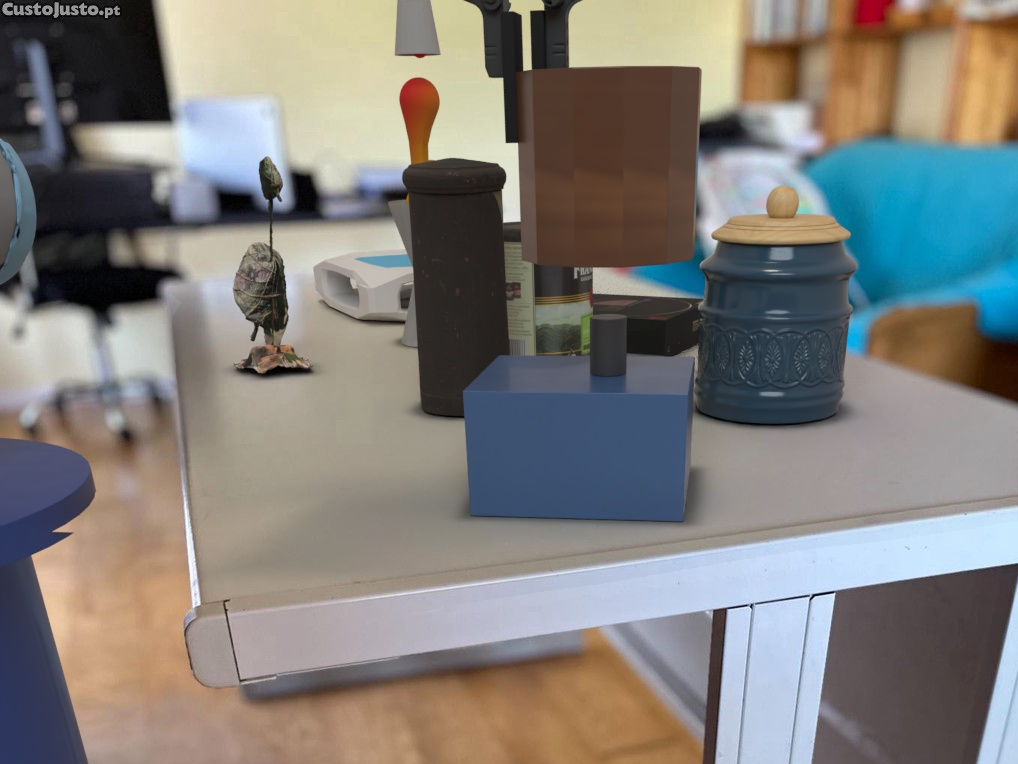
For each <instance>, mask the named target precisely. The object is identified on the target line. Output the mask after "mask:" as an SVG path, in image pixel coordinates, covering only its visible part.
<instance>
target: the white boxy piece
mask: <svg viewBox="0 0 1018 764" xmlns="http://www.w3.org/2000/svg"><path fill="white" fill-rule="evenodd" d="M312 270H313V278H314V284H315V286H314V287H315V290H316V292H317V294H319V295H320V297H321V298H322V299H323V300H324V302H325V303H326V304H327V305H328V306H329V307H331V308H333V309H336V310H337V311H340V312H341V313H344V314H346V315H348V316H351V317H353V318H354V319H358V320H362V321H383V322H384V321H385V322H386V321H387V322H404V323H406V318H407V313H408V308H409V307H402V305H401V299H410V297H411V292H412V287H413V282H414V276H413V267H412V264H411V262H410V259H409V257H408V254H407V252H406V249H405V248H403V249H401V248H400V249H391V250H390V249H388V250H386V249H385V250H373V251H370V250H369V251H357V252H351V253H347V254H343V255H339V256H335V257H330V258H327V259H324V260H323V261H320V262H319V263H317V264H315V265H314V266H313V267H312ZM351 280H353V281H354V282H355V283H356V287H357V288H356V287H353V285H352V282H351Z"/></svg>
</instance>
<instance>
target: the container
mask: <svg viewBox="0 0 1018 764" xmlns="http://www.w3.org/2000/svg"><path fill="white" fill-rule="evenodd" d="M434 160H435V159H434ZM401 180H402V183H403V186H404V187H405V190H406V191H407V195H408V194H409V212H410V225H411V240H412V256H413V276H414V294H415V310H416V327H417V345H418V347H417V359H418V361H417V362H418V376H419V377H418V378H419V392H420V393H419V396H420V407H421V409H422V410H423V411H424V412H426V413H428V414H433V415H436V416H447V417H448V416H449V417H464V402H463V391H464V390H465V389H466V388H467V387H468V386H469V385H470V384H471V383H472V382H473V381H474V380H475V379H476V378H477V377H478V376H479V375H480V374H481V373H482V372H483V371H484V370H485V369H486V368H487V367H488V366H489V365H490V364H491V363H492V362H493V361H494V360H495V359H496V358H497V357H498V356H499V355H510V353H509V334H508V315H507V297H506V274H505V253H504V230H503V223H504V206H503V205H504V204H503V190H504V189H505V184H506V182H507V172H506V170H505V168H503V167H502V166H500V163H497V162H490V161H488V162H487V161H483V160H476V159H468V158H462V157H461V158H459V157H447V158H441V159H436V160H435V161H428V162H423V163H417V164H411V163H410V164H409V165H408V166H407V167H406V168H404V170H403V172H402V174H401Z"/></svg>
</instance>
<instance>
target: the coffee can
mask: <svg viewBox="0 0 1018 764" xmlns="http://www.w3.org/2000/svg"><path fill="white" fill-rule="evenodd" d="M503 230H504V253H505V274H506V297H507V315H508V334H509V353H510V355H529V356H590V317H591V316H593V294H594V274H593V273H594V268H574V267H560V266H546V265H537V264H534V263H530V262H527V261H523V260H522V252H521V221H520V220H519V221H507V222H504V221H503Z"/></svg>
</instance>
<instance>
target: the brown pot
mask: <svg viewBox="0 0 1018 764" xmlns="http://www.w3.org/2000/svg"><path fill="white" fill-rule="evenodd" d="M702 74H703V70H702V68H701V67H699V66H687V65H684V66H683V65H616V66H615V65H611V66H609V65H608V66H606V65H605V66H572V67H570V66H569V68H551V69H533V70H532V69H527V70H523V71H519V72H516V97H517V127H518V143H517V156H518V157H517V158H518V184H519V185H518V187H519V216H520V218H519V219H520V220H519V222H520V221H521V252H522V260H523V261H527V262H530V263H534V264H537V265H546V266H560V267H574V268H593V269H594V268H595V269H596V268H601V269H602V268H609V269H610V268H614V269H615V268H616V269H617V268H636V267H637V268H638V267H649V266H650V267H651V266H666V265H671V264H678V263H683V262H688V261H692V260H693V259H694V256H695V249H696V228H697V227H696V226H697V225H696V224H697V200H698V178H699V177H698V176H699V175H698V173H699V151H700V150H699V149H700V128H701V127H700V124H701V102H702V99H701V98H702V77H703V76H702Z"/></svg>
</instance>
